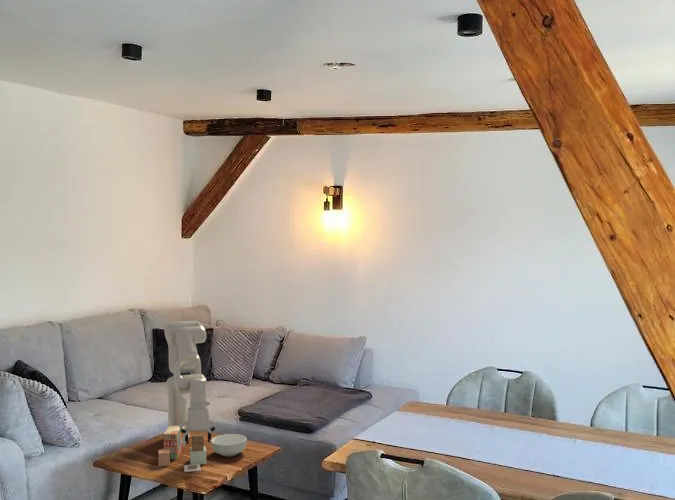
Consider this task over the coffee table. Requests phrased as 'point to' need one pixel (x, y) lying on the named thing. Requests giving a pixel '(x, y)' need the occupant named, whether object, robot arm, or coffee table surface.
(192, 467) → the tile
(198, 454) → the sage base block
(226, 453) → the cereal bowl
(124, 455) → the coffee table surface
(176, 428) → the stack of blocks
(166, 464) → the terracotta block
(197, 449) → the walnut block
